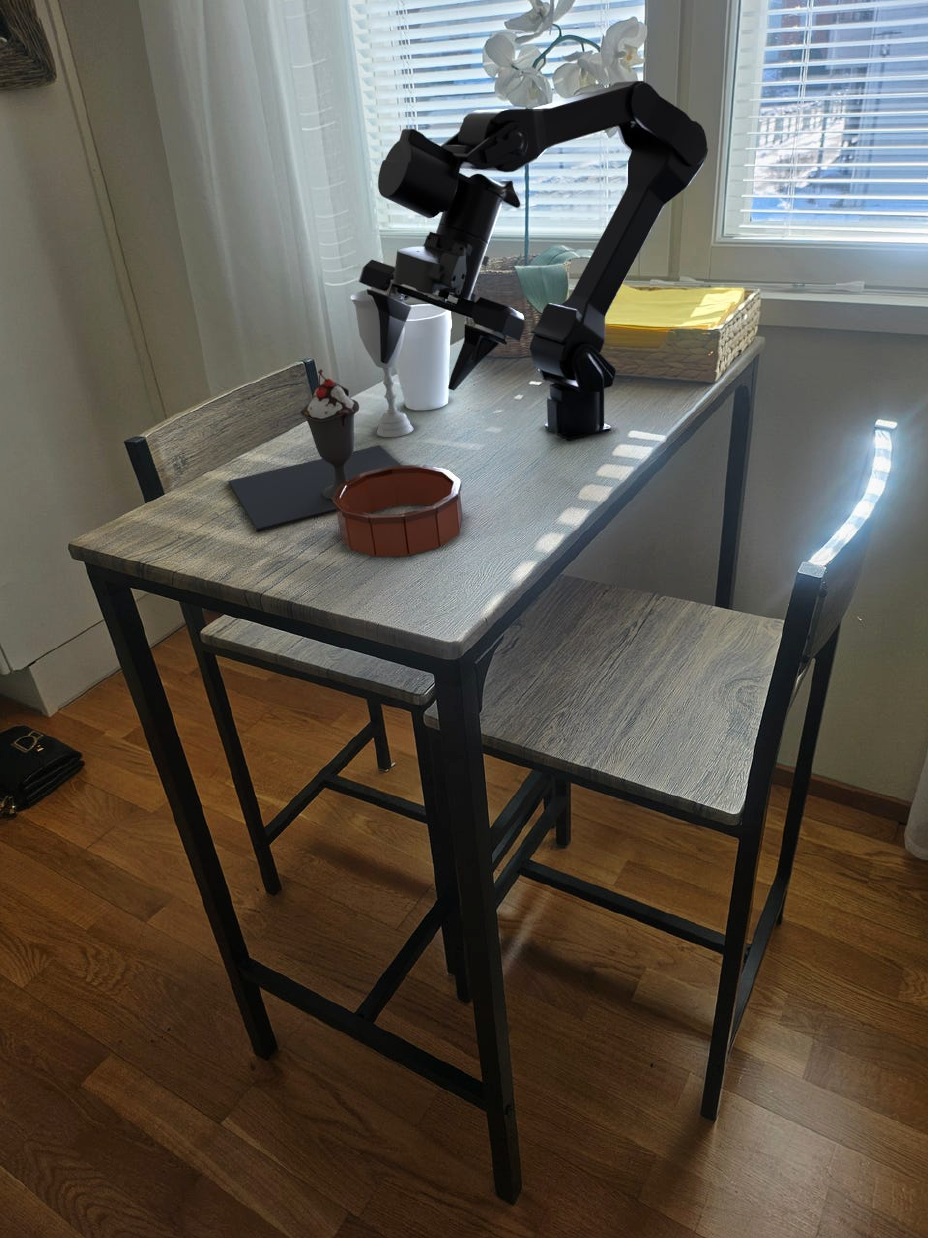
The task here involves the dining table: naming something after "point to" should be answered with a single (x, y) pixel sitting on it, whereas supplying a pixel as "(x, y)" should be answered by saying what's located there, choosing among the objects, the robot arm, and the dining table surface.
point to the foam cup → (425, 357)
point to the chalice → (380, 363)
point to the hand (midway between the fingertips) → (417, 376)
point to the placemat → (300, 488)
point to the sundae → (332, 427)
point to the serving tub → (401, 529)
